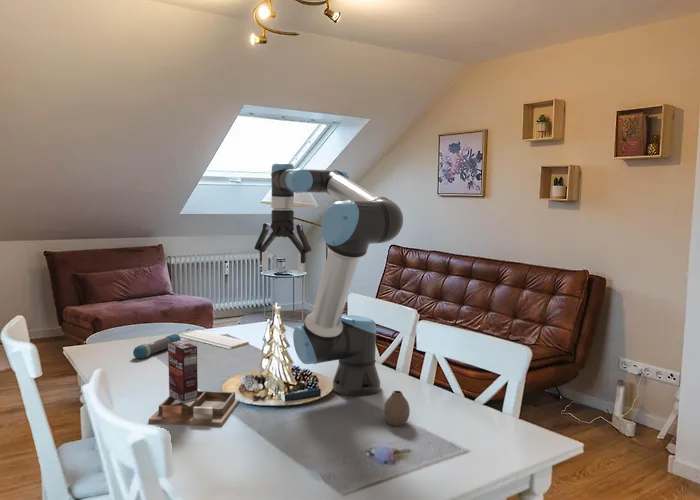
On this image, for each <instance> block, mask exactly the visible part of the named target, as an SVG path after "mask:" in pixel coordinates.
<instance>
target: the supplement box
mask: <svg viewBox="0 0 700 500" xmlns="http://www.w3.org/2000/svg"><path fill="white" fill-rule="evenodd" d="M167 353H168V356H167V357H168V391H169V392H168V397H169V396H171V397H173V398H175V399H176V400H178V401H180V402H182V403H183V404H185V403H189V402H192V401H196V400H198V391H199V389H198V385H199V384H198V383H199V382H198V346H197V345H194V344H191V343H190V342H187V341H185V340H182V339H180V341H175V342H170V343H168V351H167Z"/></svg>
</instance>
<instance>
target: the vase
mask: <svg viewBox="0 0 700 500" xmlns="http://www.w3.org/2000/svg"><path fill="white" fill-rule="evenodd" d="M383 408H384V409H383V413H384V417H385V420H386V422H388V424H390V425H391V426H395V427H400V426H403V425H405V424H406V423H407V422H408V420H409V417H410V410H411V409H410V405H409V402H408V400H407V398H406V397H405V396H404V395H403V392H402V390H394V391H392V393H391V395H390V396H389V397H388V398H387V400H386V401H385V403H384V407H383Z"/></svg>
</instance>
